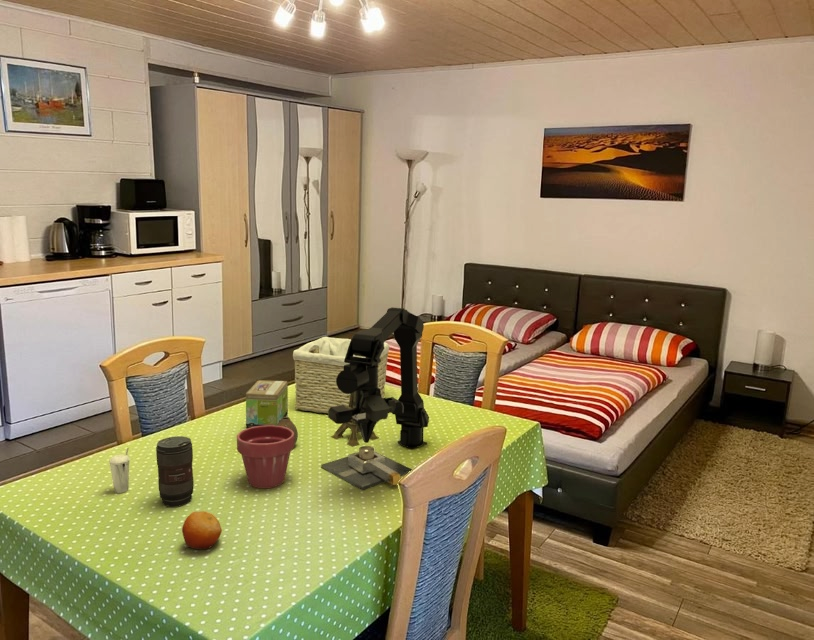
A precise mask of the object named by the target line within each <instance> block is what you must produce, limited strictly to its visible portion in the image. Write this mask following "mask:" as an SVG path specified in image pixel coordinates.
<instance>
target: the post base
mask: <svg viewBox="0 0 814 640" xmlns="http://www.w3.org/2000/svg"><path fill="white" fill-rule="evenodd" d="M374 451H375V448H374V447H373V446H371V445H365V446H360V447H359V448H358V452H359V458H360V459H361V460H363V461H366V460H370V459H374ZM375 452H376V453H378V454H380V455H382V456H383V457H385V466H387V467H389V468H390V469H392V470H394V471H395V472H397V473H399V474H400V477H403V476H405V475H408V474H409V473H408V472H409V471H411V470H412V471H413V469H412V468H411V467H408V466H406V465H404V464H402V463H400V462H398V461H396V460H395V459H394V460H393V459H391V458H390V457H387V456H386V455H383V454H381V453H379V452H377V451H375ZM320 466H321V468H322V469H323V470H325V471H327V472H328V473H330V474H333V475H334V476H336V477H337V478H339V479H341V480H343V481H345V482H347V483H349V484H350V485H352V486H354V487H356V488H357V489H359V490H360V491H364V490H366V489H369V488H373V487H375V486H379V485H380V484H383V483H385V482H387V481H385V480H384V479H382V478H380V477H379V476H377V475H375V474H374V473H372V472H371V471H370V472H367V473H363V474H362V473H361V472H359V471H357V470H356V469H354V468H353V467H351V466H350V465H348V456H345V457H342V458H338V459H334V460H331V461H329V462H324V463H322V464H321V465H320ZM407 473H408V474H407Z"/></svg>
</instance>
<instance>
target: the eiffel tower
mask: <svg viewBox="0 0 814 640" xmlns="http://www.w3.org/2000/svg"><path fill="white" fill-rule="evenodd" d="M353 401H355V392H353V393H351V394H350V400H349V406H347V408H348V409H350V408H355V406H354V405H353ZM347 429H350V435H349V438H348V442H347V443H346V445H347V446H350V447H352V448H353V447H357V446H360V442H359V441H358V433H360V431H359V429H358V426H357V425H356V423H355V421H354V420H352V419H351V421H350V422H348V423H342V424H341V425H340V426H339V427H338V428H337V429H336V431H334V433H333V435H331V436H330V438H331V439H334V440H339V439H343V438H344V435H343V434H344V433H345V432H346V430H347ZM378 439H380V437H379V436H377V434H376V433H375V432H374V431H373V432H372V434H371V437H370V440H371V441H375V440H378ZM370 440H369V441H370Z"/></svg>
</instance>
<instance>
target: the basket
mask: <svg viewBox="0 0 814 640" xmlns="http://www.w3.org/2000/svg"><path fill="white" fill-rule="evenodd" d="M351 339H352V338H350V339H349V338H340V337H339V338H337V337H329V336H321V338H318V339H316V340H313V341H311V342H307V343H306V344H304V345H302V346H300V347H299V348H297V349H295V350H293V352H292V358H293V360H294V379H295V380H294V381H295V392H294V393H295V409H296V410H301V411H304V412H305V411H306V412H308V411H309V412H314V413H316V414H317V413H318V414H321V413H323V414H328V411H329V409H330V407H334V406H340V405H344V406H345V407H347V406H349V400H350V394H345V393H343V392H341V391H340V390H339V388H338V387H337V384H336V378H337V376H338V374H339V373H340V372H341V371H343V370H344V365H346V364H350V363H345V362H344V360H345V357H346V353H347V350H348V347H349V344H350V341H351ZM311 351H313V352H311ZM389 351H390V344H389V343H387V342H386V341H385V342H384V350H383V351H382V353H381V356H380V359H381V362H380V363H378V388H380V391H381V397H382V398H385V386H386V377H387V368H388V366H387V365H388V356H389ZM353 356H354V357H361V356H355V355H353ZM362 358H366V357H362Z"/></svg>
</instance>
